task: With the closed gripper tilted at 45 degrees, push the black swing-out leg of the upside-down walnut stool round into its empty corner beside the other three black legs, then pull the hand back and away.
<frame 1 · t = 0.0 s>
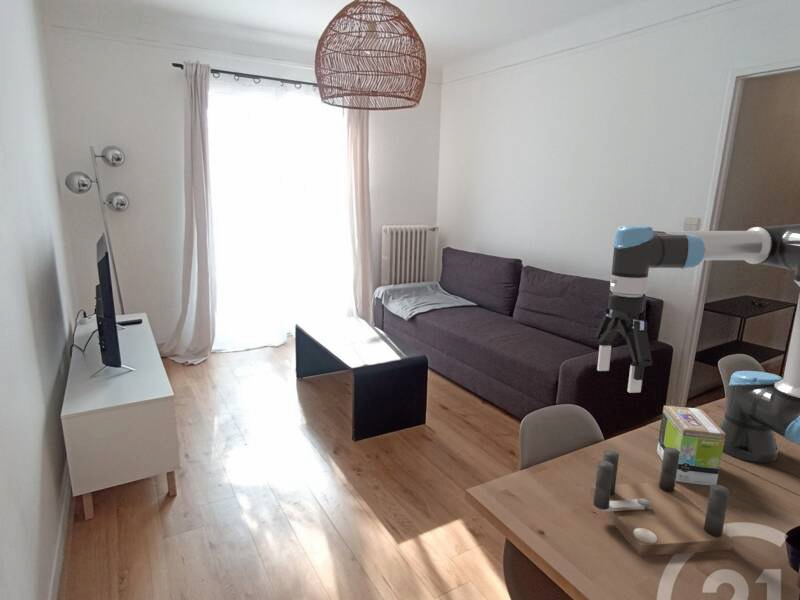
hand: (617, 380, 113), 28 cm above the table, tool pointing down, fingers open, 13 cm apart
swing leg: (624, 485, 104), point 8 cm above the table, hinge at -60.0°
stool seat: (655, 520, 106), on the table
tea box: (684, 469, 126), on the table
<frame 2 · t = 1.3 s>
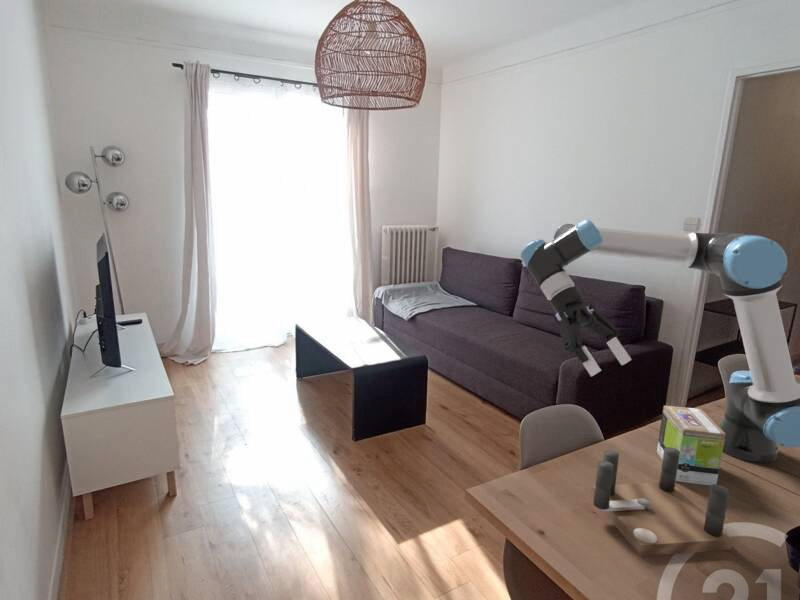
hand: (612, 368, 111), 32 cm above the table, tool tilted 45°, fingers open, 12 cm apart
nothing on the table moved.
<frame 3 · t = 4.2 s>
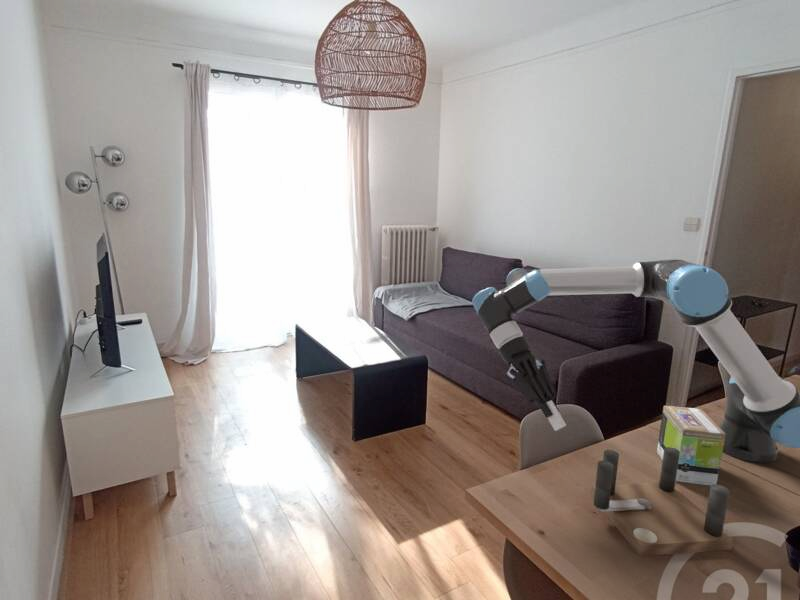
hand: (560, 428, 111), 18 cm above the table, tool tilted 45°, fingers closed
nothing on the table moved.
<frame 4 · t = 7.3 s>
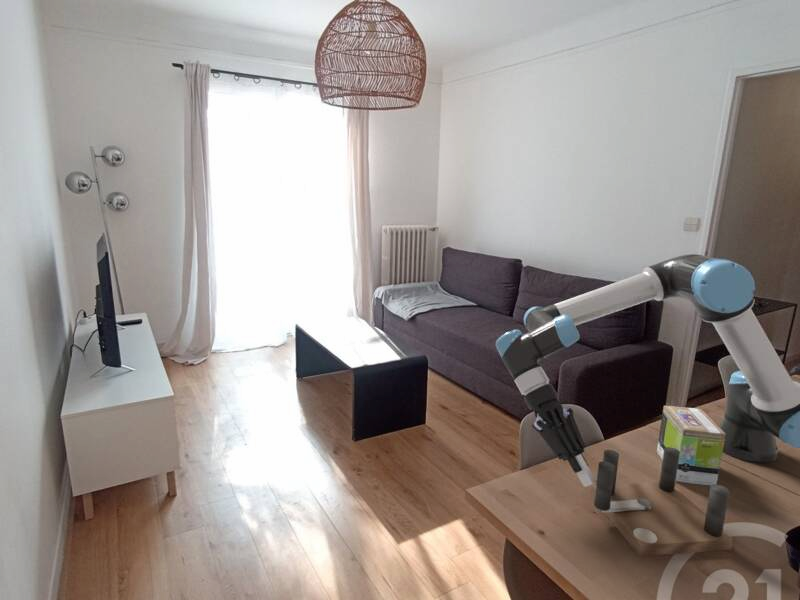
hand: (590, 484, 105), 8 cm above the table, tool tilted 45°, fingers closed
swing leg: (624, 486, 104), point 8 cm above the table, hinge at -57.8°, touching gripper
everything else where it was.
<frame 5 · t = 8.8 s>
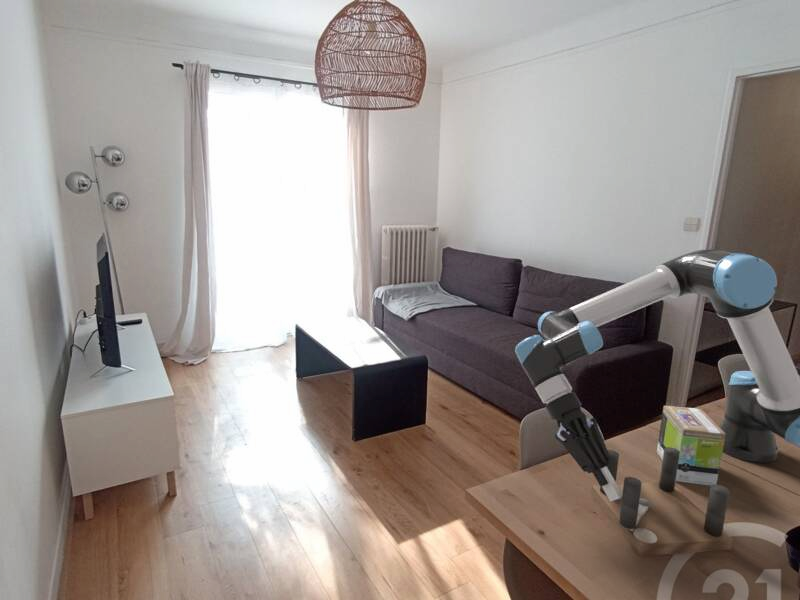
hand: (617, 498, 100), 8 cm above the table, tool tilted 45°, fingers closed
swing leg: (638, 494, 101), point 8 cm above the table, hinge at -19.9°, touching gripper
everything else where it was.
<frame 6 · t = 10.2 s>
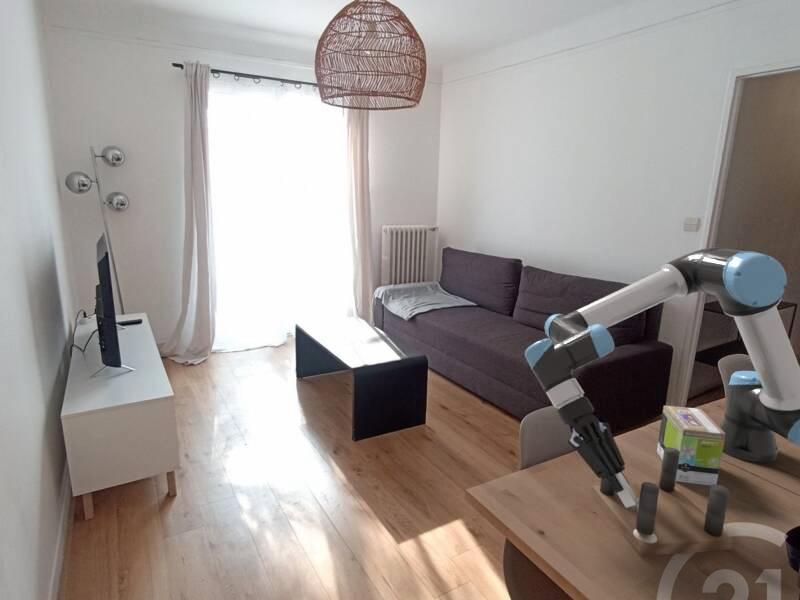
hand: (632, 505, 98), 8 cm above the table, tool tilted 45°, fingers closed
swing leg: (646, 497, 100), point 8 cm above the table, hinge at -1.6°, touching gripper
everything else where it was.
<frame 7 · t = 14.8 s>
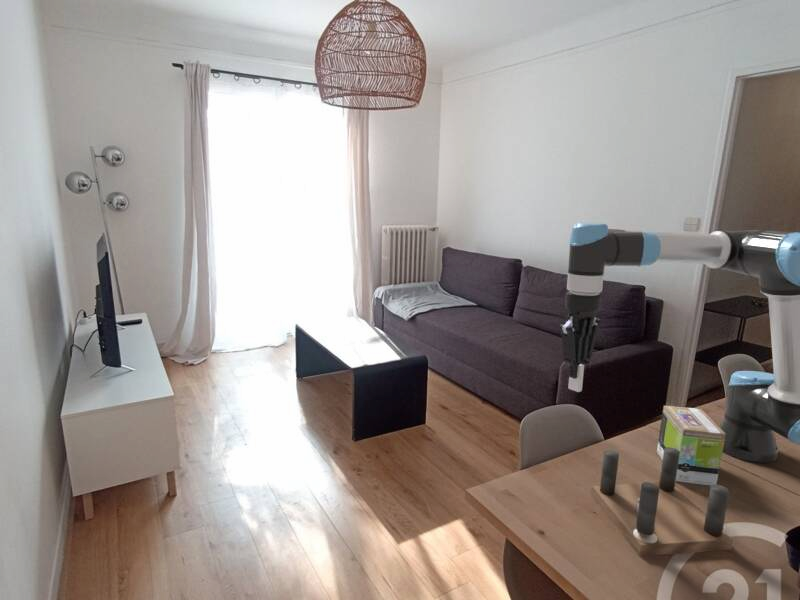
hand: (574, 389, 111), 26 cm above the table, tool pointing down, fingers closed
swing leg: (646, 497, 100), point 8 cm above the table, hinge at -1.4°
everything else where it was.
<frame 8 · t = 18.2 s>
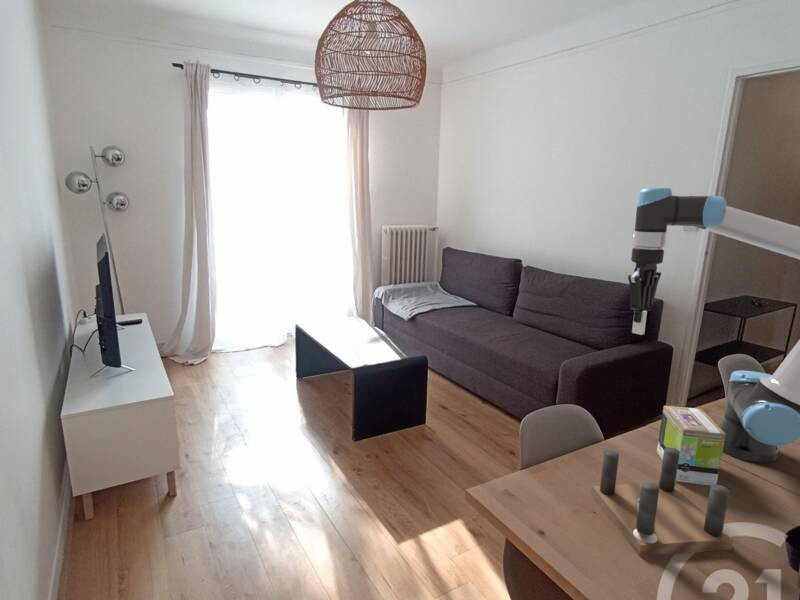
hand: (638, 333, 130), 34 cm above the table, tool pointing down, fingers closed
nothing on the table moved.
at the end: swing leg at -1° (first picture: -60°); tea box moved 0.3 cm from its start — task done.
